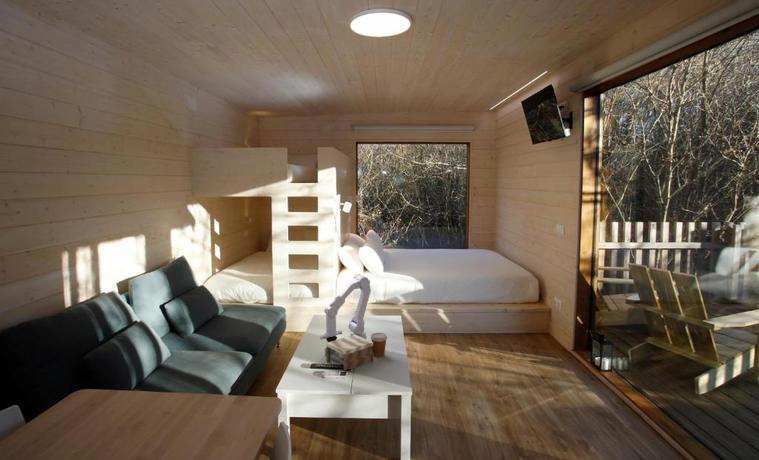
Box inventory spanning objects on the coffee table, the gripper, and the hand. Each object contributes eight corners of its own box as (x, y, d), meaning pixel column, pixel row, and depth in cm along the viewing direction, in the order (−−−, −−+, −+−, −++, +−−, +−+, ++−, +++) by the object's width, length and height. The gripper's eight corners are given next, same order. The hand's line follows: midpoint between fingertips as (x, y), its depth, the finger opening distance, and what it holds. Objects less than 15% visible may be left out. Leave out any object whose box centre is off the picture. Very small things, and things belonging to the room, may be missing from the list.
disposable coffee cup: (385, 359, 254) (385, 338, 253) (369, 357, 256) (369, 337, 255) (388, 352, 264) (388, 333, 262) (372, 351, 266) (372, 331, 264)
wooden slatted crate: (354, 352, 264) (354, 334, 263) (373, 361, 252) (373, 342, 250) (326, 361, 250) (326, 342, 249) (344, 371, 238) (344, 351, 237)
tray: (340, 350, 266) (340, 341, 266) (359, 360, 253) (359, 349, 252) (325, 355, 259) (324, 345, 258) (344, 365, 246) (344, 354, 245)
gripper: (336, 321, 270) (337, 343, 271) (316, 327, 260) (317, 349, 262) (344, 324, 265) (344, 346, 266) (323, 330, 255) (324, 353, 257)
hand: (331, 348), depth 264 cm, fingers closed, pressing on tray
